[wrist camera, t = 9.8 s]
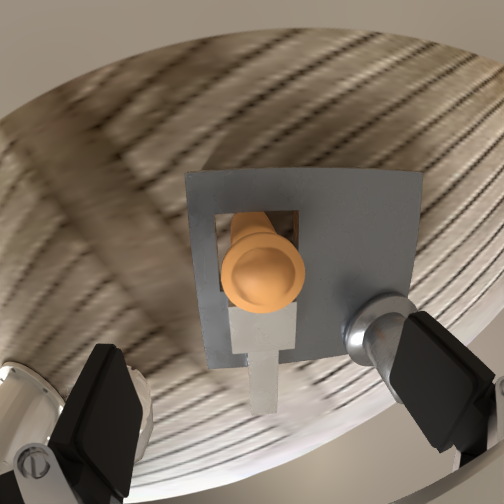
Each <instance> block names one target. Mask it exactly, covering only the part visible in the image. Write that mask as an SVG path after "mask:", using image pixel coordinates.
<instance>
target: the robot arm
mask: <svg viewBox="0 0 504 504" xmlns="http://www.w3.org/2000/svg"><path fill="white" fill-rule="evenodd" d="M494 377H495V374H494V373H493V372H492V371H491V370H490V369H489V368H488V367H487V366H486V365H485V364H484V363H483V362H482V361H481V360H480V359H479V358H477V357H476V356H475V355H474V354H473V353H472V352H471V351H470V350H469V349H468V348H467V347H466V346H465V345H463V344H462V343H461V342H460V341H459V340H458V339H457V338H456V337H455V336H453V335H452V334H451V333H450V332H449V331H448V330H447V329H446V328H444V327H443V326H442V325H441V324H440V323H439V322H438V321H436V320H435V319H434V318H433V317H432V316H431V315H429V314H428V313H427V312H426V311H419V312H415V313H411V314H409V315H408V317H407V319H405V321H404V324H403V328H402V333H401V337H400V340H399V344H398V348H397V352H396V355H395V359H394V362H393V366H392V369H391V372H390V375H389V382H390V385H391V386H392V388H393V389H394V391H395V392H396V394H397V395H398V396H399V398H400V399H401V401H402V402H403V404H404V405H405V407H406V408H407V410H408V411H409V413H410V414H411V416H412V417H413V418H414V420H415V421H416V423H417V424H418V426H419V427H420V429H421V430H422V432H423V434H424V435H425V436H426V438H427V440H428V441H429V443H430V444H431V446H433V447H434V448H437V450H438V451H439V453H442V452H444V451H446V450H448V449H449V448H451V447H452V446H453V444H454V445H455V447H456V453H455V459H454V466H453V470H452V473H451V474H449V475H447V476H446V477H444V478H442V479H440V480H439V481H437V482H435V483H433V484H431V485H429V486H427V487H425V488H423V489H421V490H419V491H417V492H415V493H412V494H410V495H408V496H406V497H404V498H401V499H399V500H397V501H394V502H392V503H389V504H504V376H502V377H500V378H499V379H498V380H497V381H496V383H495V385H494V384H493V383H492V381H493V379H494ZM0 383H1V386H0V504H110V503H115V504H123V498H127V497H128V495H129V490H130V484H131V477H132V471H133V465H134V460H135V454H136V449H137V443H138V438H139V433H140V428H141V423H142V418H143V407H142V404H141V402H140V399H139V397H138V394H137V392H136V389H135V387H134V384H133V382H132V379H131V376H130V373H129V371H128V368H127V365H126V362H125V359H124V356H123V353H122V351H121V349H119V348H116V346H115V345H114V344H96V345H95V347H94V349H93V351H92V352H91V354H90V356H89V358H88V360H87V362H86V364H85V366H84V368H83V370H82V371H81V373H80V375H79V377H78V379H77V381H76V383H75V385H74V387H73V389H72V391H71V393H70V395H69V397H68V399H67V401H66V403H65V402H64V400H63V399H62V397H61V396H60V395H59V393H58V392H57V391H56V390H55V389H54V388H53V387H52V386H51V385H50V384H49V383H48V382H47V381H46V380H45V379H44V378H42V377H41V376H40V375H39V374H37V373H36V372H34V371H33V370H31V369H30V368H28V367H26V366H24V365H22V364H19V363H16V362H6V363H4V364H3V365H2V366H1V368H0Z"/></svg>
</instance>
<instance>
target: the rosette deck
mask: <svg viewBox="0 0 504 504" xmlns="http://www.w3.org/2000/svg"><path fill="white" fill-rule="evenodd" d="M422 180H423V173H421V172H416V171H410V170H396V169H380V168H359V167H314V166H300V167H254V168H233V169H216V170H202V171H190V172H186V173H185V184H186V197H187V209H188V220H189V231H190V241H191V250H192V259H193V268H194V276H195V284H196V292H197V300H198V307H199V314H200V321H201V328H202V334H203V341H204V347H205V353H206V359H207V365H208V369H218V368H236V367H248V370H249V387H250V402H251V412H252V415H262V414H272V413H277V398H278V364H282V363H291V362H299V361H307V360H314V359H321V358H328V357H334V356H340V355H346V354H349V356H350V357H351V359H352V360H353V361H354V362H355V363H357V364H359V365H362V366H375V368H376V369H377V371H378V373H379V374H380V376H381V377H382V379H383V381H384V382H385V384H386V385H387V387H388V389H389V390H390V392H391V394H392V395H393V397H394V399H395V400H396V402H397V403H400V404H403V402H402V401H401V399H400V398H399V396H398V395H397V394H396V392H395V391H394V389H393V388H392V386H391V385H390V382H389V375H390V372H391V369H392V366H393V362H394V359H395V355H396V352H397V348H398V344H399V340H400V337H401V333H402V328H403V324H404V321H405V319H407V317H408V315H409V314H411V313H415V312H418V311H417V308H416V306H415V305H414V304H413V303H412V302H411V301H410V300H409V299H408V293H409V288H410V283H411V277H412V272H413V266H414V259H415V253H416V246H417V238H418V230H419V220H420V210H421V197H422ZM284 210H293V245H294V247H295V248H296V249H297V251H298V253H299V254H300V256H301V258H302V260H303V263H304V267H305V280H304V284H303V286H302V289H301V291H300V293H299V294H298V295H297V297H296V298H295V299H294V300H293V301H292V302H291V303H290V304H288V305H287V306H285V307H284V308H282V309H280V310H277V311H274V312H271V313H252V312H248V311H245V310H243V309H241V308H239V307H237V306H236V305H235V304H234V303H232V302H231V301H230V299H229V298H228V297H227V295H226V294H225V292H224V289H223V286H222V282H220V272H219V260H218V248H217V234H216V221H215V214H226V213H243V212H262V211H284Z"/></svg>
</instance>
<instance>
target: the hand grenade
mask: <svg viewBox="0 0 504 504" xmlns="http://www.w3.org/2000/svg"><path fill="white" fill-rule="evenodd" d="M127 368H128V371H129V373H130V376H131V379H132V382H133V384H134V387H135V389H136V392H137V394H138V397H139V399H140V402H141V404H142V407H143V418H142V423H141V428H140V433H141V432H142V433H141V436H140V438H139V441H138V443H137V449H136V454H135V460H134V463H136V462H137V461H139V460H140V459H142V457H143V454H144V452H145V449H146V446H147V443H148V441H149V438H150V435H151V433H152V430H153V411H152V398H151V397H150V394H149V393H150V389H149V386H148V383H147V381H146V379H145V378H144V377H143V375H142V374H141V373H140V372H139V371H138V370H137V369H135V370H131V366H128V365H127ZM140 433H139V434H140Z"/></svg>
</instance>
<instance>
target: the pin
mask: <svg viewBox="0 0 504 504" xmlns="http://www.w3.org/2000/svg"><path fill="white" fill-rule="evenodd" d="M304 280H305V267H304V263H303V260H302V258H301V256H300V254H299V253H298V251H297V249H296V248H295V247H294V245H293V244H292V243H291V242H290V241H288V240H287V239H286V238H284V237H282V236H280V235H278V234H277V233H276V231H275V229H274V227H273V226H272V224H271V222H270V220H269V218H268V217H267V215H266V214H265V213H264V212H263V211H262V212H243V213H236V214H235V215H234V217H233V218H232V221H231V247H230V248H229V249H228V251H227V253H226V254H225V257H224V259H223V263H222V270H221V282H222V286H223V289H224V292H225V294H226V295H227V297H228V298H229V299H230V301H231V302H232V303H234V304H235V305H236V306H237V307H239V308H241V309H243V310H245V311H248V312H252V313H271V312H274V311H277V310H280V309H282V308H284V307H285V306H287V305H288V304H290V303H291V302H292V301H293V300H294V299H295V298H296V297H297V295H298V294H299V293H300V291H301V289H302V286H303V284H304Z"/></svg>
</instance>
